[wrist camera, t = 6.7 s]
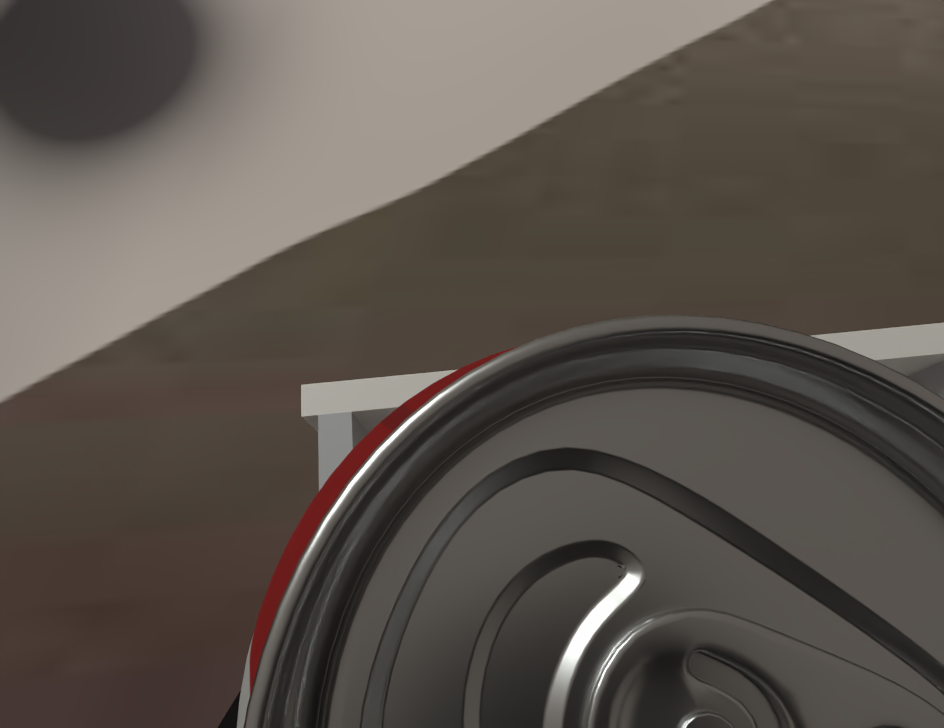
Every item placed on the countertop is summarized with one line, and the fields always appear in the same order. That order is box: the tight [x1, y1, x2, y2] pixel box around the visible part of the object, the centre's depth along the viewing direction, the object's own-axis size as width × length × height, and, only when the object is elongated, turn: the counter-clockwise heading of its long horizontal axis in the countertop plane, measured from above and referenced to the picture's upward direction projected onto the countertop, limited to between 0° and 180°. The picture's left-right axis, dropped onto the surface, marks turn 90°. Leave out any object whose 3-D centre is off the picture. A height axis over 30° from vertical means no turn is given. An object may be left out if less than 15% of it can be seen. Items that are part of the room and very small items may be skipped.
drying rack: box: [301, 323, 944, 491], centre depth 18 cm, size 14×22×5 cm, turn 96°
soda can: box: [237, 315, 944, 728], centre depth 9 cm, size 7×7×12 cm
